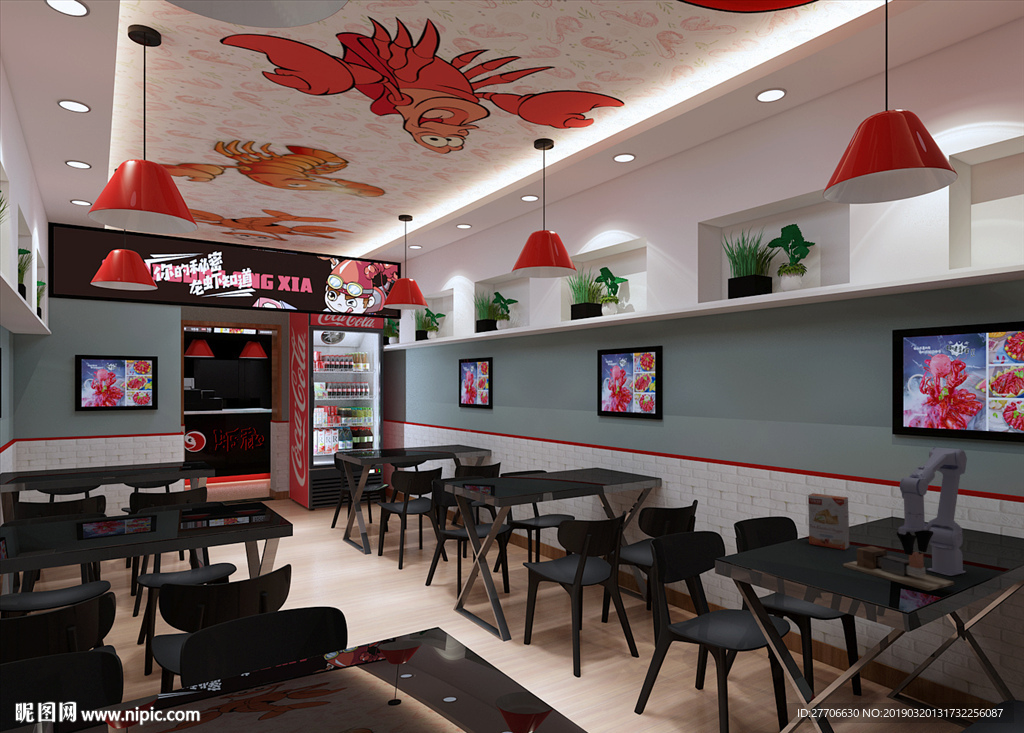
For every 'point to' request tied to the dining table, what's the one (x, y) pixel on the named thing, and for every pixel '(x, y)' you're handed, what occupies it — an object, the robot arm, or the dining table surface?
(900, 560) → the sleeve
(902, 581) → the board
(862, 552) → the socket block
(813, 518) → the cracker box
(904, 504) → the robot arm
